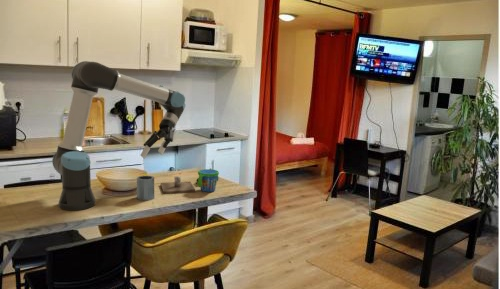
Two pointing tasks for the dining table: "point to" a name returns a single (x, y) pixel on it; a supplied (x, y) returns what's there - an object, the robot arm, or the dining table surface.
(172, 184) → the shaft stand
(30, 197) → the dining table surface
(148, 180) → the grey pen holder
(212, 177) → the snack cup
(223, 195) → the dining table surface
